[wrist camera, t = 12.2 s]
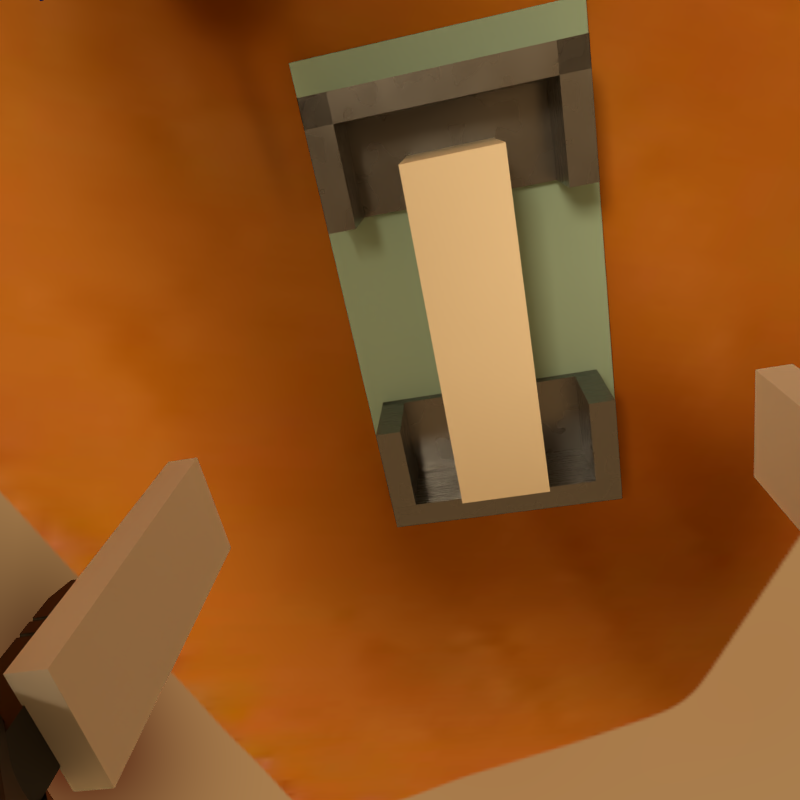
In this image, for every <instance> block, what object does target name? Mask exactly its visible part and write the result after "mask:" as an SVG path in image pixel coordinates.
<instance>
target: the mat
mask: <svg viewBox="0 0 800 800" xmlns="http://www.w3.org/2000/svg"><path fill="white" fill-rule="evenodd" d="M586 33H588V20H587V7H586V0H559V1H555V2H551V3H546V4H542V5H538V6H533V7H529V8H525V9H520V10H516V11H512V12H507V13H503V14H499V15H495V16H490V17H486V18H482V19H477V20H473V21H469V22H464V23H460V24H456V25H451V26H447V27H443V28H438V29H434V30H430V31H426V32H421V33H417V34H413V35H408V36H404V37H400V38H395V39H391V40H387V41H382V42H378V43H374V44H369V45H365V46H361V47H357V48H352V49H348V50H344V51H339V52H335V53H331V54H326V55H322V56H318V57H313V58H309V59H305V60H301V61H296V62H292V63H289V66H290V70H291V74H292V79H293V83H294V87H295V92H296V96H297V98H300V97H304V96H309V95H313V94H318V93H322V92H327V91H331V90H336V89H340V88H345V87H349V86H354V85H358V84H363V83H367V82H371V81H376V80H380V79H385V78H389V77H394V76H398V75H403V74H407V73H412V72H416V71H421V70H425V69H430V68H434V67H438V66H443V65H447V64H452V63H456V62H461V61H465V60H470V59H474V58H479V57H483V56H488V55H492V54H497V53H501V52H505V51H510V50H514V49H519V48H523V47H528V46H532V45H537V44H541V43H546V42H550V41H555V40H559V39H563V38H568V37H572V36H577V35H581V34H586ZM512 196H513V204H514V212H515V220H516V227H517V235H518V243H519V251H520V259H521V267H522V275H523V282H524V290H525V298H526V306H527V314H528V322H529V330H530V337H531V345H532V353H533V361H534V369H535V377H536V379H538V378H544V377H550V376H557V375H563V374H570V373H576V372H583V371H589V370H596V369H597V371H598V372H599V374H600V376H601V377H602V379H603V381H604V382H605V384H606V386H607V387H608V389H609V391H610V392H611V394H612V395H613V397H614V399H615V396H614V382H613V368H612V354H611V340H610V326H609V312H608V298H607V284H606V271H605V257H604V243H603V229H602V215H601V201H600V187H599V182H597V183H592V184H587V185H581V186H576V187H571V188H569V187H567V186H566V185H564V184H562V183H560V182H559V181H557V180H554V181H549V182H544V183H539V184H534V185H529V186H524V187H518V188H513V189H512ZM329 237H330V241H331V245H332V250H333V254H334V258H335V262H336V267H337V271H338V275H339V279H340V284H341V288H342V292H343V297H344V301H345V305H346V309H347V314H348V318H349V322H350V326H351V331H352V335H353V339H354V344H355V348H356V352H357V356H358V361H359V365H360V369H361V373H362V378H363V382H364V386H365V391H366V395H367V399H368V403H369V408H370V412H371V416H372V420H373V425H374V429H375V433H377V428H378V424H379V419H380V415H381V410H382V405H383V402H389V401H396V400H402V399H409V398H415V397H421V396H428V395H434V394H441V393H442V392H441V387H440V382H439V376H438V371H437V366H436V361H435V355H434V350H433V345H432V340H431V334H430V329H429V324H428V319H427V313H426V308H425V303H424V297H423V292H422V287H421V282H420V276H419V271H418V266H417V261H416V255H415V250H414V245H413V239H412V234H411V229H410V224H409V218H408V213H407V209H406V210H401V211H395V212H390V213H385V214H380V215H375V216H370V217H365V218H364V219H363V221H362V222H361V223H360V225H359V226H358V227H357V228H356V229H353V230H348V231H343V232H338V233H333V234H329Z"/></svg>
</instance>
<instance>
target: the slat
mask: <svg viewBox="0 0 800 800" xmlns="http://www.w3.org/2000/svg"><path fill="white" fill-rule="evenodd" d="M398 166H399V171H400V176H401V182H402V187H403V192H404V197H405V203H406V208H407V213H408V218H409V224H410V229H411V234H412V239H413V245H414V250H415V255H416V261H417V266H418V271H419V276H420V282H421V287H422V292H423V297H424V303H425V308H426V313H427V319H428V324H429V329H430V334H431V340H432V345H433V350H434V355H435V361H436V366H437V371H438V376H439V382H440V387H441V392H442V398H443V403H444V408H445V413H446V419H447V424H448V429H449V434H450V440H451V445H452V450H453V456H454V461H455V466H456V471H457V477H458V482H459V487H460V492H461V498H462V503H469V502H477V501H484V500H492V499H499V498H506V497H514V496H521V495H529V494H536V493H543V492H550V487H549V479H548V471H547V463H546V455H545V448H544V440H543V432H542V424H541V416H540V408H539V400H538V393H537V385H536V377H535V369H534V361H533V353H532V345H531V337H530V330H529V322H528V314H527V306H526V298H525V290H524V282H523V275H522V267H521V259H520V251H519V243H518V235H517V227H516V220H515V212H514V204H513V196H512V188H511V180H510V172H509V164H508V157H507V149H506V142H504V141H501V140H499V139H496V138H490V139H485V140H480V141H475V142H471V143H466V144H461V145H456V146H452V147H447V148H442V149H438V150H433V151H428V152H423V153H419V154H414V155H409V156H406V157H405V158H404V159H403V161H402V162H401V163H400V164H399V165H398Z"/></svg>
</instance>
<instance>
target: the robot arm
mask: <svg viewBox="0 0 800 800" xmlns="http://www.w3.org/2000/svg"><path fill="white" fill-rule="evenodd" d="M754 477H755V479H756V480H757V481H758V482H759V483H760V484H761V486H762V487H763V488H764V489H765V490H766V492H767V493H768V494H769V495H770V496H771V497H772V499H773V500H774V501H775V502H776V503H777V504H778V506H779V507H780V508H781V509H782V510H783V512H784V513H785V514H786V515H787V516H788V517H789V519H790V520H791V521H792V522H793V523H794V525H795V526H796V527H797V528H798V529H799V530H800V369H799V368H797V367H796V366H795V365H793V364H789V365H782V366H776V367H770V368H763V369H757V370H756V374H755V436H754ZM230 548H231V547H230V544H229V541H228V539H227V536H226V533H225V531H224V528H223V525H222V523H221V520H220V517H219V515H218V512H217V509H216V507H215V504H214V501H213V499H212V496H211V493H210V491H209V488H208V485H207V483H206V480H205V477H204V475H203V472H202V469H201V467H200V464H199V461H198V459H197V458H191V459H184V460H178V461H172V462H168V463H167V464H166V466H165V467H164V468H163V469H162V471H161V472H160V473H159V475H158V476H157V477H156V478H155V480H154V481H153V482H152V484H151V485H150V486H149V487H148V489H147V490H146V491H145V493H144V494H143V495H142V496H141V498H140V499H139V500H138V502H137V503H136V504H135V505H134V507H133V508H132V509H131V511H130V512H129V513H128V514H127V516H126V517H125V518H124V520H123V521H122V522H121V523H120V525H119V526H118V527H117V528H116V530H115V531H114V532H113V534H112V535H111V536H110V537H109V539H108V540H107V541H106V543H105V544H104V545H103V546H102V548H101V549H100V550H99V552H98V553H97V554H96V555H95V557H94V558H93V559H92V561H91V562H90V563H89V564H88V566H87V567H86V568H85V570H84V571H83V572H82V573H81V575H80V576H79V577H78V579H77V580H71V581H70V582H68V583H67V584H66V585H65V586H63V587H62V588H61V589H60V590H58V591H57V592H56V593H55V594H53V595H52V596H51V597H50V598H48V600H47V601H46V602H45V603H44V605H43V606H42V607H41V608H40V610H39V611H38V612H37V613H36V614H35V616H34V617H33V621H32V622H29V623H28V624H27V626H26V627H25V628H24V629H23V631H22V632H21V633H20V638H16V639H15V640H14V642H13V643H12V644H11V645H10V647H9V648H8V649H7V650H6V652H5V653H4V654H3V656H2V657H1V658H0V800H53V798H52V797H51V796H50V794H49V792H48V791H47V788H48V787H49V785H50V784H51V782H52V780H53V778H54V777H55V775H56V773H57V771H58V770H59V768H60V770H61V772H62V773H63V774H64V777H65V778H66V780H67V782H68V783H69V785H70V786H71V788H72V790H73V791H86V790H99V789H110V788H115V786H116V784H117V782H118V780H119V777H120V776H121V773H122V771H123V769H124V767H125V765H126V763H127V761H128V759H129V757H130V755H131V753H132V751H133V749H134V747H135V745H136V742H137V740H138V738H139V736H140V734H141V732H142V730H143V728H144V726H145V724H146V722H147V720H148V718H149V716H150V714H151V711H152V709H153V707H154V705H155V703H156V701H157V699H158V697H159V695H160V693H161V691H162V689H163V687H164V685H165V683H166V681H167V678H168V676H169V674H170V672H171V670H172V668H173V666H174V664H175V662H176V660H177V658H178V656H179V654H180V652H181V650H182V648H183V645H184V643H185V641H186V639H187V637H188V635H189V633H190V631H191V629H192V627H193V625H194V623H195V621H196V619H197V617H198V614H199V612H200V610H201V608H202V606H203V604H204V602H205V600H206V598H207V596H208V594H209V592H210V590H211V588H212V586H213V583H214V581H215V579H216V577H217V575H218V573H219V571H220V569H221V567H222V565H223V563H224V561H225V559H226V557H227V555H228V552H229V550H230Z"/></svg>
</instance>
